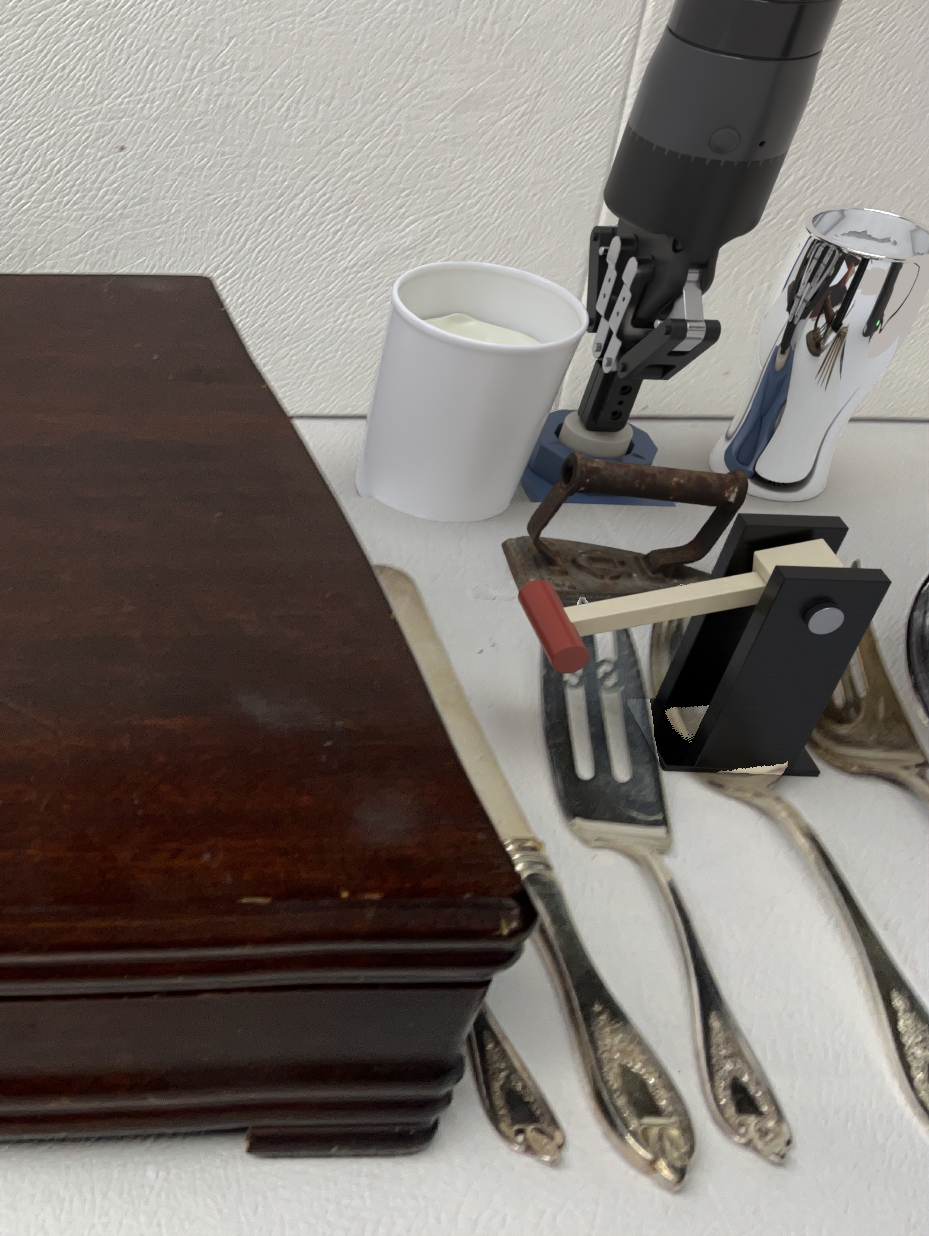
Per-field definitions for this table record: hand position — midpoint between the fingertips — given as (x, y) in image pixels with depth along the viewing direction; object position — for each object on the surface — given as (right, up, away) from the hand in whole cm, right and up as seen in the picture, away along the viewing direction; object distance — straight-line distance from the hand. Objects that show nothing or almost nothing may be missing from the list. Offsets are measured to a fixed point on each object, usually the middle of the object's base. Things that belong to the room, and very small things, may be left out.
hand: (598, 424), depth 100 cm
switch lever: (-7, -12, -21) cm, 25 cm away
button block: (0, -3, +2) cm, 3 cm away
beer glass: (+11, -3, +2) cm, 11 cm away
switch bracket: (-3, -18, -17) cm, 25 cm away
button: (0, -1, +1) cm, 2 cm away
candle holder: (-9, -4, +1) cm, 10 cm away
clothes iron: (-3, -10, -7) cm, 13 cm away
